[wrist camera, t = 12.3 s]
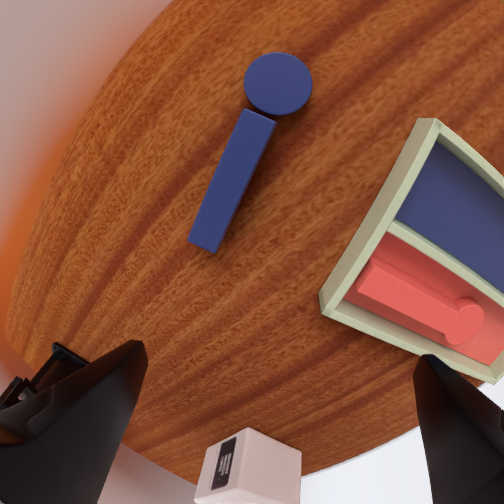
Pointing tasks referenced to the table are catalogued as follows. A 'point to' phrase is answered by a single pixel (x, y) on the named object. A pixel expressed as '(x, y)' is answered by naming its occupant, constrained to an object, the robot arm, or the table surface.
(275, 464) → the container
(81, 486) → the robot arm
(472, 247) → the cutlery tray
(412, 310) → the spoon coral
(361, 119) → the table surface
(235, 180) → the spoon navy
